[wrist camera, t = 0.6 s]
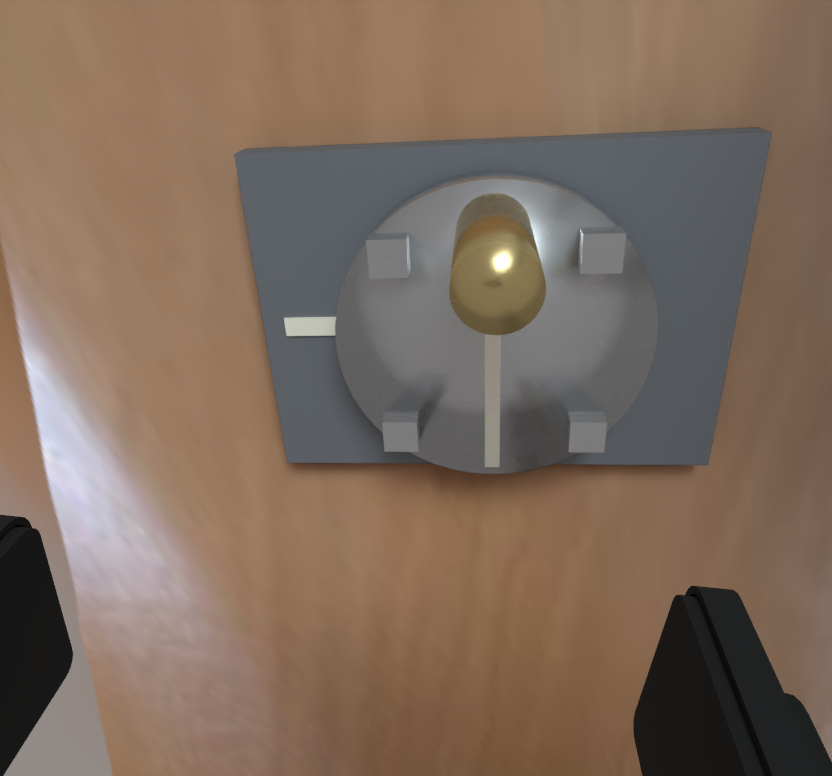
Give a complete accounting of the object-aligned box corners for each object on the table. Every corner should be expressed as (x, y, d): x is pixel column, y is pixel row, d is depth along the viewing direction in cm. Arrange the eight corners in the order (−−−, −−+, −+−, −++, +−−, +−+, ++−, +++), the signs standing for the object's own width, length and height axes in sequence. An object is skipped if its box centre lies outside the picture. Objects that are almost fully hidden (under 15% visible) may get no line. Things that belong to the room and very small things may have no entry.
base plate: (757, 127, 28) (773, 132, 26) (699, 448, 35) (709, 467, 34) (245, 148, 30) (232, 154, 28) (294, 447, 37) (286, 464, 36)
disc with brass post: (666, 163, 27) (743, 220, 19) (630, 451, 34) (677, 582, 26) (327, 176, 28) (268, 233, 20) (357, 450, 35) (321, 573, 27)
